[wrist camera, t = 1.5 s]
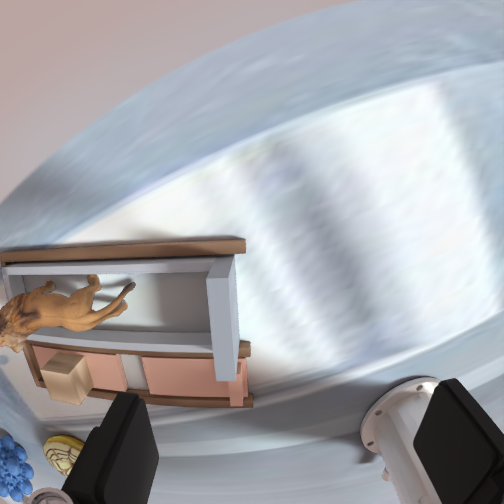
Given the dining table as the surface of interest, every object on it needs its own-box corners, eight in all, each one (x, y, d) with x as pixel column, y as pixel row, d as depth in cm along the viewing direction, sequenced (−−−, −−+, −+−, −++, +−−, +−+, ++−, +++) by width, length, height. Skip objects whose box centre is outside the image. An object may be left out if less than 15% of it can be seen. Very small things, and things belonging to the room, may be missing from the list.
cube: (94, 385, 31) (79, 405, 27) (66, 380, 31) (51, 399, 27) (84, 355, 30) (68, 374, 26) (57, 352, 30) (39, 369, 26)
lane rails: (253, 400, 32) (253, 407, 31) (41, 381, 32) (36, 386, 31) (245, 239, 28) (245, 241, 27) (5, 251, 28) (-1, 253, 27)
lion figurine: (43, 328, 30) (-2, 364, 22) (25, 285, 29) (-25, 314, 21) (146, 305, 29) (110, 350, 21) (127, 253, 28) (81, 283, 20)
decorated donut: (83, 477, 37) (76, 492, 34) (40, 434, 35) (30, 448, 31) (124, 473, 36) (117, 491, 32) (76, 425, 34) (65, 442, 30)
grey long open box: (239, 339, 30) (235, 381, 23) (29, 329, 30) (-4, 355, 24) (234, 254, 28) (228, 277, 21) (14, 261, 29) (-26, 279, 22)
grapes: (55, 467, 37) (29, 513, 25) (39, 471, 38) (15, 511, 26) (8, 420, 35) (-27, 461, 23) (-4, 426, 36) (-36, 464, 24)
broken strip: (247, 391, 31) (247, 409, 28) (47, 374, 32) (36, 387, 29) (245, 353, 30) (244, 370, 27) (36, 342, 31) (23, 353, 28)
